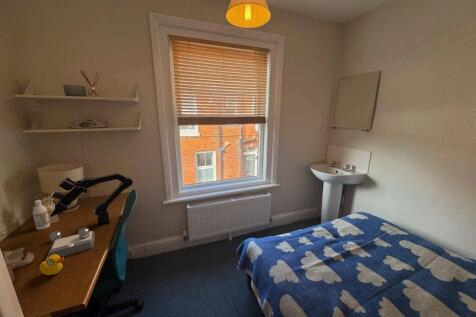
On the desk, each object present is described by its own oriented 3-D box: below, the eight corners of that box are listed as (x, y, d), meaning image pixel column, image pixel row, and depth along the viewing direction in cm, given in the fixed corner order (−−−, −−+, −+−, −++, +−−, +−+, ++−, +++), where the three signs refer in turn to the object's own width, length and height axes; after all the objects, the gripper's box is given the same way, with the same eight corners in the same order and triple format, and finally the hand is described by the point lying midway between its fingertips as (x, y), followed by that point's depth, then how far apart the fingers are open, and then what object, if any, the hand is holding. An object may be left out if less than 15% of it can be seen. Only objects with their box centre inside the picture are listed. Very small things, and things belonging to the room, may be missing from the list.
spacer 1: (62, 237, 127) (61, 230, 126) (60, 241, 123) (59, 234, 122) (52, 239, 124) (50, 232, 123) (50, 243, 120) (48, 236, 119)
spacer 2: (89, 233, 125) (88, 226, 124) (89, 237, 121) (88, 230, 120) (80, 236, 123) (78, 229, 122) (79, 240, 119) (77, 233, 118)
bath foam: (47, 228, 136) (42, 201, 132) (34, 231, 133) (28, 203, 129) (51, 223, 142) (46, 197, 138) (39, 225, 139) (33, 199, 135)
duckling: (70, 268, 101) (67, 251, 99) (62, 276, 96) (58, 259, 94) (47, 269, 101) (43, 252, 98) (37, 277, 95) (33, 259, 93)
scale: (94, 234, 130) (93, 228, 129) (93, 248, 117) (91, 241, 116) (54, 244, 120) (53, 237, 119) (47, 260, 106) (45, 253, 105)
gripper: (63, 184, 133) (42, 203, 128) (58, 189, 118) (34, 211, 113) (79, 194, 139) (59, 212, 133) (76, 200, 123) (54, 221, 118)
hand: (52, 214), depth 124 cm, fingers open, 9 cm apart
